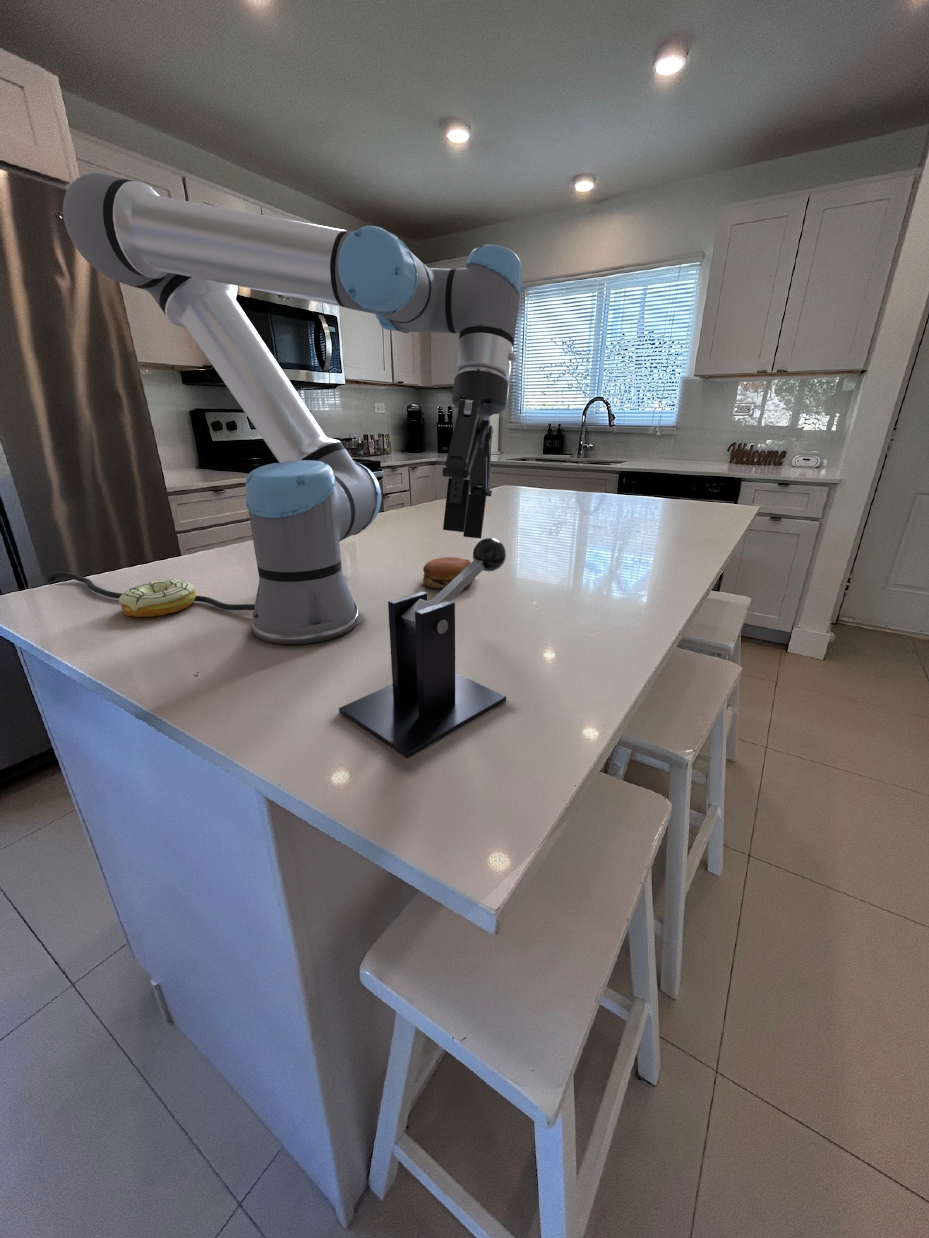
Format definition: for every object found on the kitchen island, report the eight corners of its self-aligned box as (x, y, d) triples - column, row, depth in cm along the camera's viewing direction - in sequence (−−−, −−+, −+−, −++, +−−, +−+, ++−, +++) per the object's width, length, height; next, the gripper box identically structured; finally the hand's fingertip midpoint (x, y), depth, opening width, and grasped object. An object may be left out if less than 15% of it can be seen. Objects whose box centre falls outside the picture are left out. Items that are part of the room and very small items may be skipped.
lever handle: (491, 555, 58) (482, 529, 56) (515, 561, 56) (508, 534, 54) (407, 635, 52) (393, 609, 50) (430, 646, 50) (418, 619, 47)
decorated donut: (115, 608, 84) (109, 586, 82) (185, 593, 91) (180, 573, 89) (132, 625, 77) (126, 601, 75) (206, 608, 84) (202, 586, 82)
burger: (414, 581, 98) (413, 557, 96) (453, 573, 103) (453, 550, 101) (443, 595, 90) (443, 570, 88) (484, 586, 95) (484, 561, 94)
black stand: (437, 674, 63) (435, 575, 58) (506, 708, 56) (510, 597, 51) (339, 720, 53) (328, 605, 48) (407, 767, 46) (402, 638, 41)
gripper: (497, 338, 56) (474, 530, 59) (517, 408, 81) (500, 542, 83) (432, 336, 58) (412, 524, 60) (471, 405, 82) (456, 537, 85)
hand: (463, 535), depth 72 cm, fingers open, 13 cm apart
